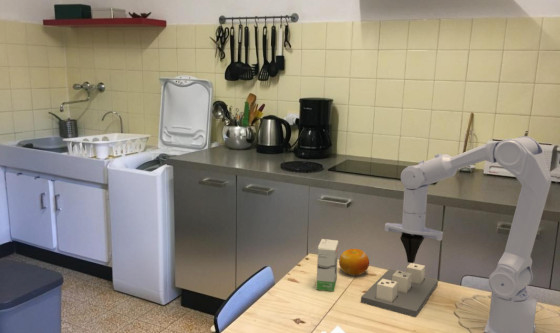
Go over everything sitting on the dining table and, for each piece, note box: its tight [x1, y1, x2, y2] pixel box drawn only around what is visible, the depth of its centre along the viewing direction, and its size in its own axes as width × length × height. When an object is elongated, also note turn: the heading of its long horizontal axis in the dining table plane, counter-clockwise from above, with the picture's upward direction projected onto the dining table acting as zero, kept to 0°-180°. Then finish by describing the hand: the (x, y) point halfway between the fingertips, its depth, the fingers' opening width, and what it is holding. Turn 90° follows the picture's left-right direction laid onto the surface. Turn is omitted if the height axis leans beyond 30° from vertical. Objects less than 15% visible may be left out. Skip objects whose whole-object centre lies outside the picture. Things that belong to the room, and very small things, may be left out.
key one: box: [405, 263, 426, 284], centre depth 131 cm, size 4×4×5 cm
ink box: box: [316, 238, 339, 292], centre depth 130 cm, size 9×5×12 cm, turn 168°
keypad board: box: [360, 268, 439, 318], centre depth 126 cm, size 14×22×2 cm, turn 149°
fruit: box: [338, 248, 370, 276], centre depth 139 cm, size 8×8×8 cm
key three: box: [376, 279, 398, 303], centre depth 120 cm, size 4×4×5 cm
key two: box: [392, 269, 412, 293], centre depth 126 cm, size 4×4×5 cm
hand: (411, 261), depth 124 cm, fingers closed
